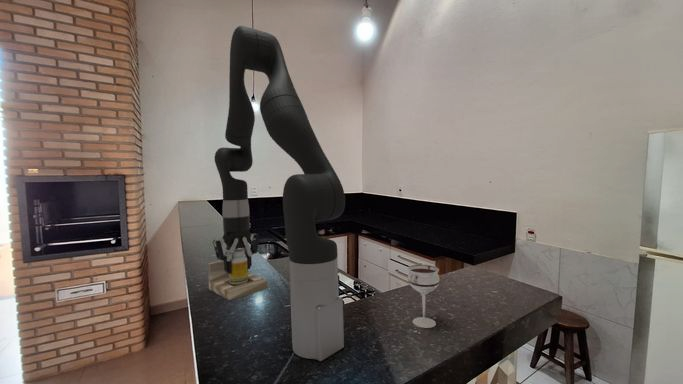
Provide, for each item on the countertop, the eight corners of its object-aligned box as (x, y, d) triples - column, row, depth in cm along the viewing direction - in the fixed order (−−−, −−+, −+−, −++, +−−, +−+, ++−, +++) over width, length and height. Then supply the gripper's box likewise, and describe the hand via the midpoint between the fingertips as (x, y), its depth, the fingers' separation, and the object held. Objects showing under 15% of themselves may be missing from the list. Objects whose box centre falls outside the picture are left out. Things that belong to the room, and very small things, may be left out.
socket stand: (267, 288, 90) (266, 262, 89) (229, 300, 81) (228, 271, 81) (245, 278, 99) (244, 255, 99) (208, 289, 90) (207, 263, 90)
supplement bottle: (226, 281, 90) (225, 250, 89) (244, 277, 93) (242, 247, 93) (233, 286, 86) (231, 253, 85) (251, 282, 89) (249, 250, 89)
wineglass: (431, 314, 70) (430, 263, 69) (446, 328, 63) (445, 272, 62) (403, 317, 68) (402, 265, 68) (416, 331, 62) (415, 274, 61)
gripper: (217, 218, 81) (220, 279, 82) (264, 213, 91) (266, 267, 92) (206, 216, 86) (209, 274, 87) (251, 212, 96) (253, 263, 97)
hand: (238, 270), depth 89 cm, fingers closed on supplement bottle, 5 cm apart
